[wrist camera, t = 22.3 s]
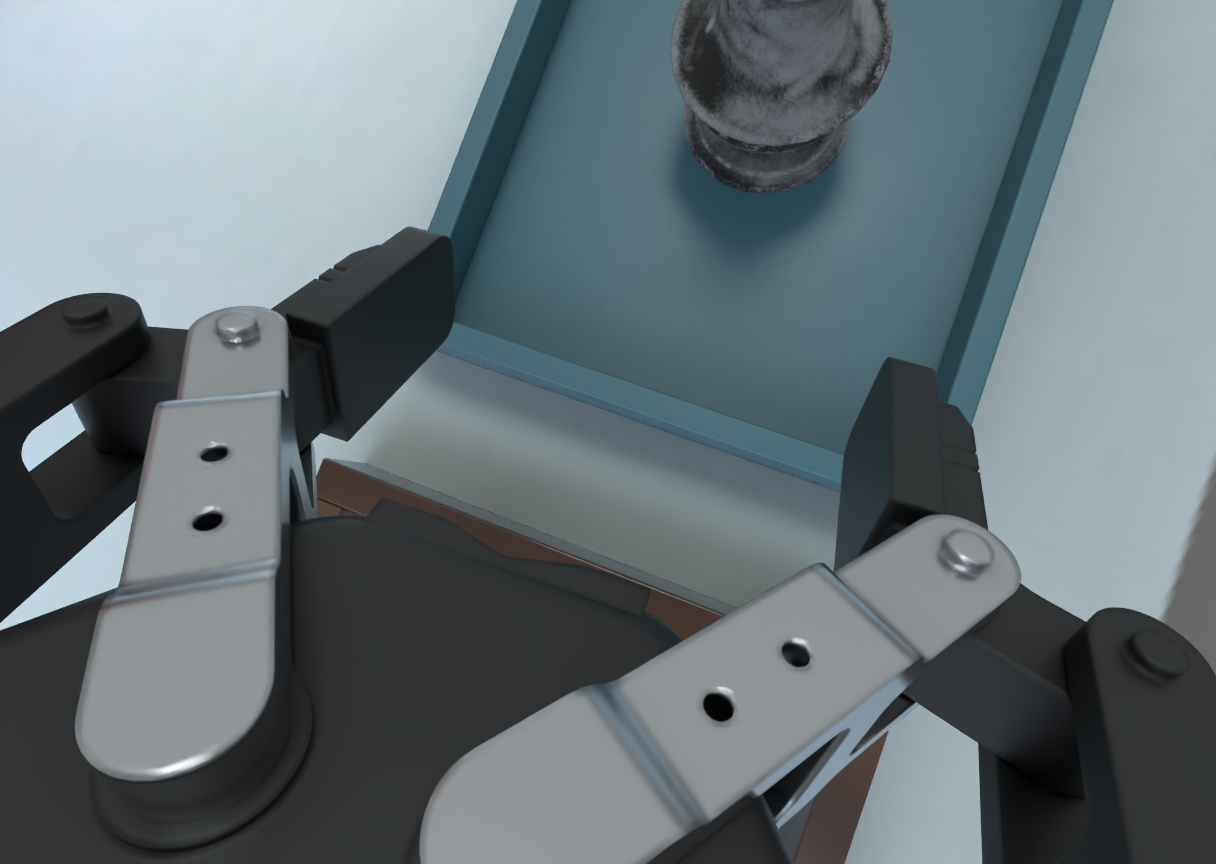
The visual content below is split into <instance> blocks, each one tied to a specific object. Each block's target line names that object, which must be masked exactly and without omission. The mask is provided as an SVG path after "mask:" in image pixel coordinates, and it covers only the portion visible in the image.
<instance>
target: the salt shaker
mask: <svg viewBox="0 0 1216 864" xmlns="http://www.w3.org/2000/svg"><path fill="white" fill-rule="evenodd" d="M892 40H893V29H892V23H891V17H890V11H889V6H888V4H887V2H886V0H683V3H682V5H681V7H680V9H679V11H678V13H677V16H676V18H675V20H674V24H673V30H672V36H671V42H670V54H671V63H672V72H673V76H674V79H675V81H676V83H677V86H678V88H679V90H680V93H681V95H682V97H683V99H684V101H685V102H686V105H685V111H684V124H685V132H686V139H687V141H688V144H689V146H690V148H691V151H692V153H693V155H694V157H695V158H696V160H697V161H698V162H699V163H700V164H701V166H702V167H703V168H704V169H705V171H706V172H707V173H709V174H710V175H711V176H713V177H714V178H716V179H717V180H719V181H720V182H721V183H723V184H725V185H727V186H730V187H733V188H736V189H738V190H741V191H744V192H754V193H765V194H767V193H773V192H780V191H787V190H790V189H792V188H795V187H797V186H800V185H802V184H804V183H807V182H809V181H811V180H812V179H813V178H815V177H816V176H817V175H819V174H820V173H821V172H823V171H824V170H825V169H827V168H828V166H829V165H830V164H831V163H832V162H833V160H834V159H835V158H836V157H837V155H838V154H839V153H840V152H841V150H842V148H843V145H844V143H845V141H846V138H847V136H848V134H849V132H850V129H851V122H852V117H853V116H854V115H856V114H857V113H858V112H859V111H860V110H861V109H862V108H863V106H864V105H865V104H866V103H867V101H868V100H869V99H870V98H871V97H872V95H873V94H874V93H875V92H876V90H877V89H878V86H879V84H880V82H881V80H882V77H883V75H884V73H885V71H886V68H887V66H888V64H889V61H890V54H891V47H892Z"/></svg>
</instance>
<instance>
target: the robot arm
mask: <svg viewBox="0 0 1216 864" xmlns="http://www.w3.org/2000/svg"><path fill="white" fill-rule="evenodd" d="M454 316H455V295H454V260H453V246H452V243H451V240H450V239H449V238H448V237H447V236H444V235H440V234H436V233H433V232H429V231H425V230H422V229H418V228H414V227H406V228H404V229H403V230H401V231H400V232H399V233H397V234H396V235H394V236H393V237H392V238H390V239H389V240H387V241H386V242H385V243H383V244H382V245H376V246H373V247H370V248H367V249H364V250H360V251H357V252H354V253H352V254H350V255H349V256H347V257H346V258H344V259H343V260H342V261H340V262H339V263H337V264H336V265H334V268H333V269H331V268H330V269H329V270H327V271H326V272H324V273H323V274H321V275H320V276H319V279H314V280H313V281H311V282H310V283H308V284H307V285H305V286H304V287H303V288H301V289H300V290H298V291H297V292H295V293H294V294H292V295H291V296H289V297H288V298H287V299H285V300H284V301H282V302H281V303H279V304H278V305H276V306H275V307H274V308H272V309H271V310H270V309H267V308H262V307H255V306H238V307H230V308H225V309H221V310H217V311H214V312H212V313H209V314H207V315H205V316H203V317H201V318H200V319H198V320H197V321H196V322H194V323H193V324H192V326H191V327H190V328H189V330H184V329H172V328H159V327H148V326H147V323H146V321H145V318H144V315H143V312H142V310H141V307H140V305H139V304H138V302H136V301H135V300H134V299H132V298H130V297H127V296H124V295H120V294H114V293H90V294H83V295H77V296H73V297H69V298H65V299H62V300H60V301H57V302H54V303H52V304H50V305H48V306H46V307H45V308H43V309H41V310H39V311H37V312H36V313H34V314H32V315H30V316H28V317H26V318H25V319H23V320H21V321H19V322H17V323H16V324H14V325H12V326H10V327H8V328H7V329H5V330H3V331H1V332H0V623H1V622H2V621H3V620H4V619H5V618H6V617H7V616H8V615H9V614H11V613H12V612H13V611H14V610H15V609H16V608H17V607H18V606H19V605H21V604H22V603H23V602H24V601H25V600H26V599H27V598H28V597H29V596H31V595H32V594H33V593H34V592H35V591H36V590H37V589H38V588H39V587H41V586H42V585H43V584H44V583H45V582H46V581H47V580H48V579H49V578H51V577H52V576H53V575H54V574H55V573H56V572H57V571H58V570H59V569H61V568H62V567H63V566H64V565H65V564H66V563H67V562H68V561H69V560H71V559H72V558H73V557H74V556H75V555H76V554H77V553H78V552H79V551H81V550H82V549H83V548H84V547H85V546H86V545H87V544H88V543H89V542H91V541H92V540H93V539H94V538H95V537H96V536H97V535H98V534H99V533H101V532H102V531H103V530H104V529H105V528H106V527H107V526H108V525H109V524H111V523H112V522H113V521H114V520H115V519H116V518H117V517H118V516H119V515H121V514H122V513H123V512H124V511H125V510H126V509H127V508H128V507H129V506H131V505H132V504H133V503H134V502H135V501H136V504H135V509H134V514H133V519H132V524H131V529H130V534H129V539H128V544H127V549H126V554H125V559H124V564H123V569H122V574H121V579H120V583H119V586H118V588H115V589H112V590H109V591H107V592H104V593H101V594H99V595H96V596H93V597H90V598H88V599H85V600H82V601H79V602H77V603H74V604H71V605H69V606H66V607H63V608H60V609H58V610H55V611H52V612H50V613H47V614H44V615H41V616H39V617H36V618H33V619H31V620H28V621H25V622H22V623H20V624H17V625H14V626H12V627H9V628H6V629H3V630H1V631H0V864H794V862H793V860H792V858H791V855H790V853H789V851H788V849H787V847H786V844H785V842H784V840H783V838H782V836H781V833H780V831H779V829H778V828H780V827H781V826H782V825H783V824H784V823H786V822H787V821H788V820H789V819H790V818H791V817H793V816H794V815H795V814H796V813H797V812H798V811H799V810H801V809H802V808H803V807H804V806H805V805H806V804H807V803H808V802H809V801H810V800H811V799H812V798H813V797H814V796H815V795H816V794H817V793H818V792H819V791H820V790H821V789H822V788H823V787H824V786H825V785H826V784H827V783H828V782H829V781H830V780H831V779H832V778H833V777H834V776H835V775H836V774H837V773H838V772H839V771H841V770H842V769H843V768H844V767H845V766H846V765H847V764H849V763H850V762H851V761H852V760H853V759H855V758H856V757H857V756H858V755H859V754H861V753H862V752H863V751H864V750H865V749H867V748H868V747H869V746H870V745H871V744H872V743H874V742H875V741H876V740H877V739H878V738H880V737H881V736H882V735H883V734H884V733H886V732H887V731H888V730H889V729H890V728H892V727H893V726H894V725H895V724H896V723H897V722H899V721H900V720H901V719H902V718H903V717H905V716H906V715H907V714H908V713H909V712H911V711H912V710H913V709H914V708H915V707H917V706H918V705H919V704H920V705H921V706H923V707H925V708H926V709H928V710H929V711H931V712H932V713H934V714H935V715H937V716H938V717H940V718H941V719H943V720H944V721H946V722H947V723H949V724H950V725H952V726H953V727H955V728H956V729H958V730H959V731H961V732H962V733H964V734H966V735H967V736H969V737H970V738H972V739H973V740H975V741H976V742H978V747H979V777H980V806H981V835H982V864H1216V676H1215V674H1214V672H1213V670H1212V668H1211V667H1210V665H1209V664H1208V662H1207V661H1206V660H1205V659H1204V657H1203V656H1202V655H1201V653H1200V652H1199V651H1197V649H1196V648H1195V647H1194V646H1193V645H1192V644H1191V643H1189V642H1188V641H1187V640H1186V639H1185V638H1184V637H1183V636H1181V635H1180V634H1179V633H1177V632H1176V631H1175V630H1173V629H1172V628H1170V627H1168V626H1167V625H1165V624H1164V623H1162V622H1160V621H1158V620H1157V619H1155V618H1153V617H1151V616H1148V615H1146V614H1143V613H1141V612H1137V611H1134V610H1131V609H1125V608H1106V609H1102V610H1100V611H1098V612H1096V613H1095V614H1094V615H1093V616H1092V617H1091V618H1090V619H1089V620H1088V621H1087V622H1085V621H1083V620H1082V619H1080V618H1078V617H1076V616H1074V615H1072V614H1071V613H1069V612H1067V611H1065V610H1063V609H1062V608H1060V607H1058V606H1056V605H1054V604H1053V603H1051V602H1049V601H1047V600H1045V599H1044V598H1042V597H1040V596H1039V595H1037V594H1035V593H1034V592H1032V591H1031V590H1029V589H1028V588H1026V587H1025V586H1024V585H1022V584H1021V583H1020V582H1021V572H1020V568H1019V565H1018V562H1017V561H1016V559H1015V557H1014V555H1013V554H1012V553H1011V551H1010V550H1009V549H1008V547H1007V546H1006V545H1005V544H1004V543H1003V542H1002V541H1001V540H1000V539H998V538H997V537H996V536H995V535H994V534H992V533H991V532H989V531H988V525H987V519H986V512H985V505H984V498H983V492H982V485H981V478H980V473H979V472H978V469H979V465H978V458H977V455H976V454H975V452H976V445H975V438H974V431H973V428H972V426H971V425H970V424H969V422H968V421H967V419H966V418H965V416H964V415H963V414H962V412H961V411H960V409H959V408H958V407H957V406H955V405H951V404H948V403H944V402H940V401H938V397H937V386H936V374H935V370H934V369H933V368H929V367H926V366H922V365H918V364H915V363H911V362H907V361H903V360H900V359H896V358H892V357H888V358H887V359H886V360H885V361H884V363H883V365H882V366H881V368H880V370H879V373H878V375H877V377H876V379H875V381H874V383H873V385H872V387H871V390H870V392H869V394H868V396H867V398H866V400H865V402H864V405H863V407H862V409H861V411H860V413H859V415H858V417H857V419H856V422H855V424H854V426H853V428H852V431H851V433H850V436H849V439H848V442H847V445H846V449H845V453H844V458H843V468H842V480H841V492H840V504H839V516H838V528H837V540H836V552H835V564H834V572H833V571H832V570H831V569H829V568H828V567H827V566H826V565H825V564H824V563H817V564H814V565H811V566H809V567H807V568H805V569H804V570H802V571H800V572H799V573H797V574H795V575H794V576H792V577H790V578H788V579H787V580H785V581H783V582H782V583H780V584H778V585H777V586H775V587H773V588H772V589H770V590H768V591H766V592H765V593H763V594H761V595H760V596H758V597H756V598H755V599H753V600H751V601H750V602H748V603H746V604H745V605H743V606H741V607H739V608H738V609H736V610H734V611H733V612H731V613H729V614H728V615H726V616H724V617H723V618H721V619H719V620H717V621H716V622H714V623H712V624H711V625H709V626H707V627H706V628H704V629H702V630H701V631H699V632H697V633H696V634H694V635H692V636H690V637H689V638H687V639H685V640H684V641H683V640H682V639H681V638H680V637H679V636H678V635H677V634H676V633H675V632H674V631H673V630H672V629H671V628H670V627H668V626H667V625H666V624H665V623H663V622H662V621H661V620H660V619H658V618H657V617H655V616H654V615H652V614H651V613H649V612H648V611H646V608H647V604H648V601H649V597H650V593H651V590H652V589H651V588H648V587H645V586H642V585H639V584H636V583H633V582H631V581H628V580H625V579H622V578H619V577H616V576H613V575H610V574H607V573H604V572H601V571H598V570H595V569H592V568H589V567H587V566H584V565H578V564H569V563H561V562H552V561H544V560H535V559H527V558H519V557H511V556H506V555H504V554H501V553H499V552H498V551H496V550H494V549H493V548H491V547H490V546H488V545H487V544H485V543H483V542H482V541H480V540H479V539H477V538H475V537H474V536H472V535H471V534H469V533H468V532H466V531H464V530H463V529H461V528H460V527H458V526H457V525H455V524H453V523H452V522H450V521H449V520H447V519H446V518H443V517H440V516H437V515H434V514H431V513H428V512H425V511H422V510H419V509H416V508H413V507H411V506H408V505H405V504H402V503H399V502H396V501H393V500H390V499H387V498H384V497H382V498H381V499H380V501H379V502H378V503H377V504H376V505H375V507H374V508H373V509H372V510H371V512H370V513H369V514H368V515H367V516H364V515H335V516H325V517H319V518H318V501H317V482H316V463H315V451H314V447H313V442H312V441H313V440H314V439H315V438H316V437H317V436H318V435H319V434H320V433H322V434H325V435H329V436H332V437H335V438H338V439H341V440H344V441H347V442H348V441H349V440H350V439H351V438H352V437H353V436H354V435H355V434H356V432H357V431H358V430H359V429H360V428H361V427H362V426H363V425H364V424H365V423H366V422H367V421H368V420H369V419H370V418H371V417H372V416H373V415H374V414H375V413H376V412H377V411H378V410H379V409H380V408H381V407H382V406H383V405H384V404H385V403H386V402H387V400H388V399H389V398H390V397H391V396H392V395H393V394H394V393H395V392H396V391H397V390H398V389H399V388H400V387H401V386H402V385H403V384H404V383H405V382H406V381H407V380H408V379H409V378H410V377H411V376H412V375H413V374H414V373H415V372H416V371H417V370H418V368H419V367H420V366H421V365H422V364H423V363H424V362H425V361H426V360H427V359H428V358H429V357H430V356H431V355H432V354H433V353H434V352H435V351H436V350H437V349H438V348H439V347H440V346H441V345H442V344H443V343H444V341H445V340H446V339H447V337H448V335H449V333H450V331H451V329H452V326H453V322H454ZM70 403H72V404H73V406H74V408H75V410H76V412H77V414H78V416H79V418H80V420H81V422H82V424H83V426H84V428H85V431H83V432H82V433H81V434H79V435H78V436H77V437H75V438H74V439H73V440H71V441H70V442H69V443H67V444H66V445H65V446H63V447H62V448H61V449H59V450H58V451H57V452H55V453H54V454H52V455H51V456H50V457H48V458H47V459H46V460H44V461H43V462H42V463H40V464H39V465H38V466H36V467H35V468H34V469H32V470H31V471H30V472H28V470H27V468H26V467H25V465H24V463H23V461H22V457H21V451H22V446H23V443H24V441H25V439H26V438H27V436H28V435H29V433H30V432H31V431H32V430H34V429H35V428H36V427H37V426H39V425H40V424H42V423H43V422H45V421H46V420H47V419H49V418H50V417H52V416H53V415H55V414H56V413H57V412H59V411H60V410H62V409H63V408H65V407H66V406H68V405H69V404H70Z"/></svg>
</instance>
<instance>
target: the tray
mask: <svg viewBox="0 0 1216 864" xmlns="http://www.w3.org/2000/svg"><path fill="white" fill-rule="evenodd" d="M1113 1H1114V0H886V2H887V4H888V6H889V11H890V17H891V23H892V29H893V40H892V47H891V54H890V61H889V64H888V66H887V68H886V71H885V73H884V75H883V77H882V80H881V82H880V84H879V86H878V89H877V90H876V92H875V93H874V94H873V95H872V97H871V98H870V99H869V100H868V101H867V103H866V104H865V105H864V106H863V108H862V109H861V110H860V111H859V112H858V113H857V114H856V115H854V116H853V117H852V122H851V129H850V132H849V134H848V136H847V138H846V141H845V143H844V145H843V148H842V150H841V152H840V153H839V154H838V155H837V157H836V158H835V159H834V160H833V162H832V163H831V164H830V165H829V166H828V168H827V169H825V170H824V171H823V172H821V173H820V174H819V175H817V176H816V177H815V178H813V179H812V180H811V181H809V182H807V183H804V184H802V185H800V186H797V187H795V188H792V189H790V190H787V191H780V192H773V193H767V194H765V193H754V192H744V191H741V190H738V189H736V188H733V187H730V186H727V185H725V184H723V183H721V182H720V181H719V180H717V179H716V178H714V177H713V176H711V175H710V174H709V173H707V172H706V171H705V169H704V168H703V167H702V166H701V164H700V163H699V162H698V161H697V160H696V158H695V157H694V155H693V153H692V151H691V148H690V146H689V144H688V141H687V139H686V132H685V124H684V111H685V105H686V102H685V101H684V99H683V97H682V95H681V93H680V90H679V88H678V86H677V83H676V81H675V79H674V76H673V72H672V63H671V54H670V42H671V36H672V30H673V24H674V20H675V18H676V16H677V13H678V11H679V9H680V7H681V5H682V3H683V0H517V3H516V5H515V8H514V10H513V13H512V15H511V18H510V21H509V23H508V26H507V28H506V31H505V33H504V36H503V39H502V41H501V44H500V46H499V49H498V51H497V54H496V57H495V59H494V62H493V64H492V67H491V69H490V72H489V75H488V77H487V80H486V82H485V85H484V87H483V90H482V92H481V95H480V98H479V100H478V103H477V105H476V108H475V110H474V113H473V116H472V118H471V121H470V123H469V126H468V128H467V131H466V134H465V136H464V139H463V141H462V144H461V146H460V149H459V152H458V154H457V157H456V159H455V162H454V164H453V167H452V170H451V172H450V175H449V177H448V180H447V182H446V185H445V188H444V190H443V193H442V195H441V198H440V200H439V203H438V206H437V208H436V211H435V213H434V216H433V218H432V221H431V223H430V226H429V229H428V231H429V232H433V233H436V234H440V235H444V236H447V237H448V238H449V239H450V240H451V243H452V246H453V260H454V295H455V316H454V322H453V326H452V329H451V331H450V333H449V335H448V337H447V339H446V340H445V341H444V343H443V344H442V345H441V346H440V347H439V348H438V349H437V350H436V351H439V352H441V353H444V354H447V355H450V356H453V357H456V358H458V359H461V360H464V361H467V362H470V363H473V364H476V365H478V366H481V367H484V368H487V369H490V370H493V371H496V372H498V373H501V374H504V375H507V376H510V377H513V378H516V379H518V380H521V381H524V382H527V383H530V384H533V385H535V386H538V387H541V388H544V389H547V390H550V391H553V392H555V393H558V394H561V395H564V396H567V397H570V398H573V399H575V400H578V401H581V402H584V403H587V404H590V405H593V406H595V407H598V408H601V409H604V410H607V411H610V412H612V413H615V414H618V415H621V416H624V417H627V418H630V419H632V420H635V421H638V422H641V423H644V424H647V425H650V426H652V427H655V428H658V429H661V430H664V431H667V432H670V433H672V434H675V435H678V436H681V437H684V438H687V439H689V440H692V441H695V442H698V443H701V444H704V445H707V446H709V447H712V448H715V449H718V450H721V451H724V452H727V453H729V454H732V455H735V456H738V457H741V458H744V459H747V460H749V461H752V462H755V463H758V464H761V465H764V466H766V467H769V468H772V469H775V470H778V471H781V472H784V473H786V474H789V475H792V476H795V477H798V478H801V479H804V480H806V481H809V482H812V483H815V484H818V485H821V486H823V487H826V488H829V489H832V490H835V491H838V492H841V480H842V468H843V458H844V453H845V449H846V445H847V442H848V439H849V436H850V433H851V431H852V428H853V426H854V424H855V422H856V419H857V417H858V415H859V413H860V411H861V409H862V407H863V405H864V402H865V400H866V398H867V396H868V394H869V392H870V390H871V387H872V385H873V383H874V381H875V379H876V377H877V375H878V373H879V370H880V368H881V366H882V365H883V363H884V361H885V360H886V359H887V358H888V357H892V358H896V359H900V360H903V361H907V362H911V363H915V364H918V365H922V366H926V367H929V368H933V369H934V370H935V374H936V386H937V397H938V401H940V402H944V403H948V404H951V405H955V406H957V407H958V408H959V409H960V411H961V412H962V414H963V415H964V416H965V418H966V419H967V421H968V422H969V424H970V425H972V422H973V419H974V416H975V413H976V410H977V407H978V404H979V401H980V398H981V395H982V392H983V389H984V386H985V383H986V380H987V377H988V374H989V371H990V368H991V365H992V362H993V359H994V356H995V353H996V350H997V347H998V344H999V341H1000V338H1001V335H1002V332H1003V329H1004V326H1005V323H1006V320H1007V317H1008V314H1009V311H1010V308H1011V305H1012V302H1013V299H1014V296H1015V293H1016V290H1017V288H1018V285H1019V282H1020V279H1021V276H1022V273H1023V270H1024V267H1025V264H1026V261H1027V258H1028V255H1029V252H1030V249H1031V246H1032V243H1033V240H1034V237H1035V234H1036V231H1037V228H1038V225H1039V222H1040V219H1041V216H1042V213H1043V210H1044V207H1045V204H1046V201H1047V198H1048V195H1049V192H1050V189H1051V186H1052V183H1053V180H1054V177H1055V174H1056V171H1057V168H1058V165H1059V162H1060V159H1061V156H1062V153H1063V150H1064V147H1065V144H1066V141H1067V138H1068V135H1069V132H1070V129H1071V126H1072V123H1073V120H1074V117H1075V114H1076V111H1077V108H1078V105H1079V102H1080V99H1081V96H1082V93H1083V90H1084V87H1085V84H1086V81H1087V78H1088V75H1089V72H1090V69H1091V66H1092V63H1093V60H1094V58H1095V55H1096V52H1097V49H1098V46H1099V43H1100V40H1101V37H1102V34H1103V31H1104V28H1105V25H1106V22H1107V19H1108V16H1109V13H1110V10H1111V7H1112V4H1113Z"/></svg>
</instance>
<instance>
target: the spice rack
mask: <svg viewBox="0 0 1216 864" xmlns="http://www.w3.org/2000/svg"><path fill="white" fill-rule="evenodd" d="M316 482H317V501H318V518H319V517H325V516H335V515H364V516H367V515H368V514H369V513H370V512H371V510H372V509H373V508H374V507H375V505H376V504H377V503H378V502H379V501H380V499H381V498H382V497H384V498H387V499H390V500H393V501H396V502H399V503H402V504H405V505H408V506H411V507H413V508H416V509H419V510H422V511H425V512H428V513H431V514H434V515H437V516H440V517H443V518H446V519H447V520H449V521H450V522H452V523H453V524H455V525H457V526H458V527H460V528H461V529H463V530H464V531H466V532H468V533H469V534H471V535H472V536H474V537H475V538H477V539H479V540H480V541H482V542H483V543H485V544H487V545H488V546H490V547H491V548H493V549H494V550H496V551H498V552H499V553H501V554H504V555H506V556H511V557H519V558H527V559H535V560H544V561H552V562H561V563H569V564H578V565H584V566H587V567H589V568H592V569H595V570H598V571H601V572H604V573H607V574H610V575H613V576H616V577H619V578H622V579H625V580H628V581H631V582H633V583H636V584H639V585H642V586H645V587H648V588H651V589H652V590H651V593H650V597H649V601H648V604H647V608H646V611H648V612H649V613H651V614H652V615H654V616H655V617H657V618H658V619H660V620H661V621H662V622H663V623H665V624H666V625H667V626H668V627H670V628H671V629H672V630H673V631H674V632H675V633H676V634H677V635H678V636H679V637H680V638H681V639H682V640H683V641H684V640H685V639H687V638H689V637H690V636H692V635H694V634H696V633H697V632H699V631H701V630H702V629H704V628H706V627H707V626H709V625H711V624H712V623H714V622H716V621H717V620H719V619H721V618H723V617H724V616H726V615H728V614H729V613H731V612H733V611H734V610H736V609H738V608H736V607H733V606H731V605H728V604H726V603H723V602H720V601H718V600H715V599H713V598H710V597H708V596H705V595H702V594H700V593H697V592H695V591H692V590H689V589H687V588H684V587H682V586H679V585H677V584H674V583H671V582H669V581H666V580H664V579H661V578H659V577H656V576H653V575H651V574H648V573H646V572H643V571H641V570H638V569H635V568H633V567H630V566H628V565H625V564H622V563H620V562H617V561H615V560H612V559H610V558H607V557H604V556H602V555H599V554H597V553H594V552H592V551H589V550H586V549H584V548H581V547H579V546H576V545H574V544H571V543H568V542H566V541H563V540H561V539H558V538H555V537H553V536H550V535H548V534H545V533H543V532H540V531H537V530H535V529H532V528H530V527H527V526H525V525H522V524H519V523H517V522H514V521H512V520H509V519H507V518H504V517H501V516H499V515H496V514H494V513H491V512H488V511H486V510H483V509H481V508H478V507H476V506H473V505H470V504H468V503H465V502H463V501H460V500H458V499H455V498H452V497H450V496H447V495H445V494H442V493H440V492H437V491H434V490H432V489H429V488H427V487H424V486H421V485H419V484H416V483H414V482H411V481H409V480H406V479H403V478H401V477H398V476H396V475H393V474H391V473H388V472H385V471H383V470H380V469H378V468H375V467H373V466H370V465H367V464H365V463H359V462H351V461H344V460H336V459H329V458H324V459H323V461H322V463H321V466H320V469H319V471H318V474H317V476H316ZM888 731H889V730H888ZM888 731H887V732H886V733H884V734H883V735H882V736H881V737H880V738H878V739H877V740H876V741H875V742H874V743H872V744H871V745H870V746H869V747H868V748H867V749H865V750H864V751H863V752H862V753H861V754H859V755H858V756H857V757H856V758H855V759H853V760H852V761H851V762H850V763H849V764H847V765H846V766H845V767H844V768H843V769H842V770H841V771H839V772H838V773H837V774H836V775H835V776H834V777H833V778H832V779H831V780H830V781H829V782H828V783H827V784H826V785H825V786H824V787H823V788H822V789H821V790H820V791H819V792H818V793H817V794H816V795H815V796H814V797H813V798H812V799H811V800H810V801H809V802H808V803H807V804H806V805H805V806H804V807H803V808H802V809H801V810H799V811H798V812H797V813H796V814H795V815H794V816H793V817H791V818H790V819H789V820H788V821H787V822H786V823H784V824H783V825H782V826H781V827H780V828H779V831H780V833H781V836H782V838H783V840H784V842H785V844H786V847H787V849H788V851H789V853H790V855H791V858H792V860H793V862H794V864H844V863H845V860H846V857H847V854H848V851H849V848H850V845H851V842H852V839H853V836H854V833H855V830H856V827H857V824H858V821H859V818H860V815H861V812H862V809H863V806H864V803H865V800H866V797H867V794H868V791H869V788H870V785H871V782H872V779H873V776H874V773H875V770H876V767H877V764H878V761H879V758H880V755H881V752H882V749H883V746H884V743H885V740H886V737H887V734H888Z"/></svg>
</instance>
